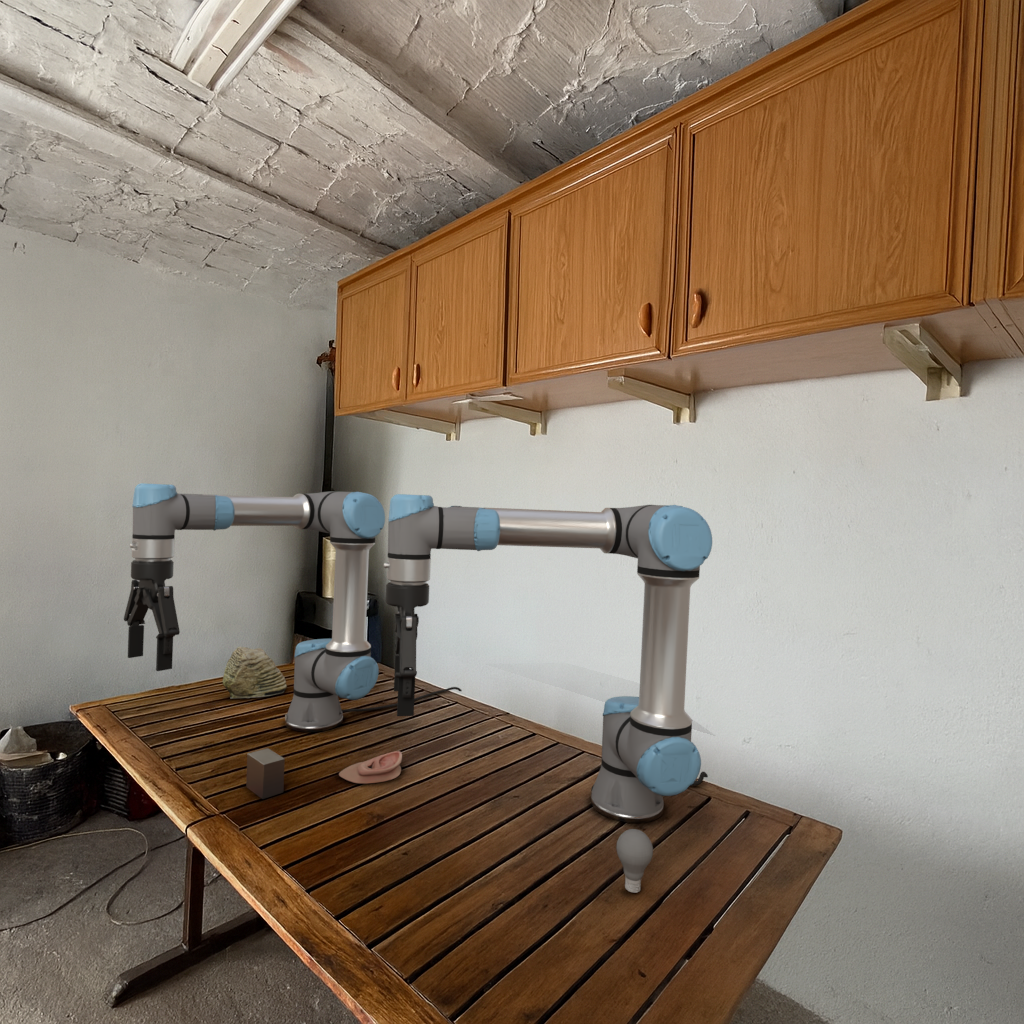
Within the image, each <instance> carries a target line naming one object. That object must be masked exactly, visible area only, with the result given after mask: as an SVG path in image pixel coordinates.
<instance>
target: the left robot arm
mask: <svg viewBox="0 0 1024 1024" xmlns="http://www.w3.org/2000/svg"><path fill="white" fill-rule="evenodd" d="M385 523H386V513H385V509H384V507H383V505H382V503H381V502H380V501H379V500H378V498H377V497H376V496H375V495H373V494H370V493H367V492H363V491H362V492H361V491H337V490H336V491H335V490H333V491H332V490H331V491H321V492H311V493H296V494H294V495H293V496H276V495H275V496H271V495H270V496H269V495H241V494H206V493H205V494H204V493H178V491H177V487H176V485H174V484H165V483H164V484H163V483H144V482H142V483H138V484H137V485H136V486H135V487H134V491H133V499H132V536H131V537H132V539H131V543H130V544H129V548H130V549H131V558H133V560H132V561H131V562H130V563H131V564H130V578H131V579H132V580H131V583H130V584H131V585H130V592H129V596H128V601H127V603H126V607H125V612H124V616H123V621H124V622H126V624H127V626H128V631H127V632H128V637H127V639H128V640H127V658H128V659H132V658H139V657H140V658H141V657H143V656H144V640H145V624H146V621H145V617H146V615H147V613H148V611H149V610H150V611H152V616H153V617H154V623H155V625H156V629H157V632H158V633H157V635H156V636H155V639H156V658H155V659H156V663H155V666H156V667H155V671H156V672H161V671H167V670H173V653H174V637H175V636H179V635H180V633H181V631H180V626H179V620H178V615H177V608H176V604H175V603H176V602H175V598H174V586H173V585H168V586H167V585H166V580H170V579H172V578H173V577H174V561H173V559H172V558H174V557H175V542H176V541H175V538H176V537H175V534H176V531H184V530H186V531H188V530H189V531H204V530H205V531H217V530H227V529H229V528H230V527H252V526H253V527H255V526H256V527H259V526H260V527H272V526H273V527H275V526H276V527H277V526H278V527H284V526H285V527H290V526H291V527H292V526H293V528H294V529H296V530H308V531H309V530H310V531H316V532H319V533H320V532H321V533H325V534H329V543H330V545H332V547H333V548H334V550H335V554H334V555H335V558H334V581H333V586H334V587H333V604H332V605H333V606H332V629H331V630H332V631H331V638H317V639H308V640H304V641H300V642H299V643H297V645H296V646H295V650H294V655H293V657H294V672H293V673H294V674H293V695H292V696H293V697H292V699H291V702H290V704H289V708H288V711H287V712H286V714H285V715H284V719H285V726H286V728H287V729H289V730H291V731H294V732H295V731H296V732H301V733H316V732H325V731H329V730H332V729H335V728H337V727H339V726H340V725H342V723H343V722H344V714H343V713H354V712H355V713H356V712H359V713H360V712H369V711H378V710H383V709H389V708H395V707H397V703H392V704H391V703H390V704H386V705H381V706H373V707H366V708H345V709H342V706H341V702H340V699H339V698H341V699H344V700H348V701H349V700H350V701H357V700H360V699H363V698H364V697H365V696H367V695H368V694H370V692H371V690H372V689H374V687H375V685H376V684H377V682H378V678H379V674H380V670H379V669H380V668H379V665H378V662H377V661H376V660H375V659H374V657H372V656H371V655H372V653H371V652H372V644H371V643H370V642H369V641H368V640H367V639H366V636H367V635H366V633H367V632H366V631H367V607H368V586H369V585H368V583H369V562H370V561H369V560H370V550H371V548H372V547H374V545H376V537H377V536H378V535H380V533H381V531H382V530H383V529H384V527H385ZM452 690H457V692H462V691H463V690H462V689H461V688H460V687H458V686H451V687H448V688H445V689H440V690H435V691H432V692H429V693H426V694H422V695H419V696H417V697H414V702H417V701H419V700H422V699H424V698H428V697H430V696H431V697H432V696H433V695H436V694H441V693H445V692H449V691H452Z"/></svg>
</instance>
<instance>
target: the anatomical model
mask: <svg viewBox="0 0 1024 1024" xmlns="http://www.w3.org/2000/svg"><path fill="white" fill-rule="evenodd" d="M402 761H403V754H402V751H399V750H397V751H391V752H387V753H384V754H381V755H377V756H375V757H373V758H370V759H367V760H365V761H361V762H355V763H353V764H351V765H349V766H347V767H345V768H343V769H342V770H341V771H340V772H339V773H338V776H339V777H340V778H342V779H344V780H346V781H347V782H350V783H352V784H353V783H354V784H375V783H383V782H387V781H391V780H393V779H396V778H398V777H399V776H400V774H401V772H402V767H401V763H402Z"/></svg>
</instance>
